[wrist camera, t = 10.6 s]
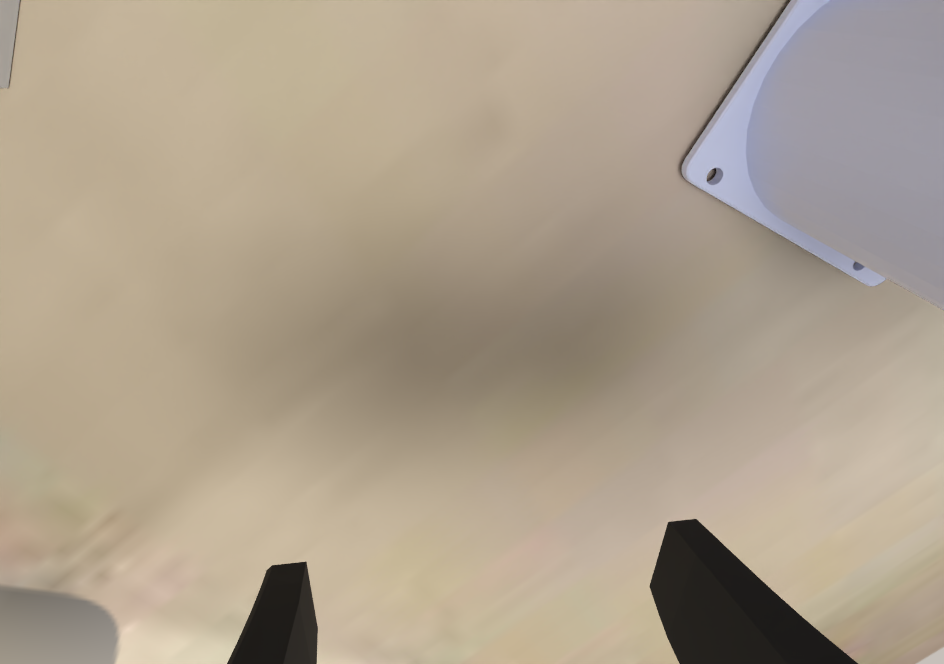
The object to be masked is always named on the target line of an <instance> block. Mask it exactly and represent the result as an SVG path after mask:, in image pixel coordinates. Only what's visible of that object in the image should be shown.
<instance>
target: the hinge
mask: <svg viewBox="0 0 944 664" xmlns="http://www.w3.org/2000/svg"><path fill="white" fill-rule="evenodd" d="M19 3H20V0H0V88H8V87H9V79H10V72H11V64H12V56H13V49H14V41H15V33H16V26H17V18H18V10H19Z"/></svg>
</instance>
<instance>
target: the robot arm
mask: <svg viewBox="0 0 944 664" xmlns="http://www.w3.org/2000/svg"><path fill="white" fill-rule="evenodd" d="M714 168H716V174H715V177H714V178H713V179H712V180H710V181H707V175H708V172H710V171H711V170H712V169H714ZM682 175H683V177H684V178H685V179H686V180H687V181H688V182H690V183H691V184H693V185H695V186H697V187H698V188H700V189H702V190H704V191H705V192H707V193H709V194H710V195H712V196H714V197H716V198H717V199H719V200H721V201H722V202H724V203H726V204H728V205H729V206H731V207H733V208H734V209H736V210H738V211H740V212H741V213H743V214H745V215H746V216H748V217H750V218H752V219H753V220H755V221H757V222H759V223H760V224H762V225H764V226H765V227H767V228H769V229H771V230H772V231H774V232H776V233H777V234H779V235H781V236H783V237H784V238H786V239H788V240H789V241H791V242H793V243H795V244H796V245H798V246H800V247H802V248H803V249H805V250H807V251H808V252H810V253H812V254H814V255H815V256H817V257H819V258H820V259H822V260H824V261H826V262H827V263H829V264H831V265H832V266H834V267H836V268H838V269H839V270H841V271H843V272H845V273H846V274H848V275H850V276H851V277H853V278H855V279H857V280H858V281H860V282H862V283H863V284H865V285H867V286H876V285H878V284H880V283H882V282H883V281H884V280H886V279H888V280H890V281H892V282H894V283H895V284H897V285H899V286H901V287H903V288H904V289H906V290H908V291H910V292H912V293H913V294H915V295H917V296H919V297H921V298H922V299H924V300H926V301H928V302H930V303H931V304H933V305H935V306H937V307H939V308H940V309H942V310H944V0H791V1H790V2H789V4H788V5H787V7H786V8H785V10H784V11H783V13H782V14H781V16H780V17H779V19H778V20H777V22H776V23H775V25H774V26H773V28H772V29H771V31H770V32H769V34H768V35H767V37H766V38H765V40H764V41H763V43H762V44H761V46H760V47H759V49H758V50H757V52H756V53H755V55H754V56H753V58H752V59H751V61H750V62H749V64H748V65H747V67H746V68H745V70H744V71H743V73H742V74H741V76H740V77H739V79H738V80H737V82H736V83H735V85H734V86H733V88H732V89H731V91H730V92H729V94H728V95H727V97H726V98H725V100H724V101H723V103H722V104H721V106H720V107H719V109H718V110H717V112H716V113H715V115H714V116H713V118H712V119H711V121H710V122H709V124H708V125H707V127H706V128H705V130H704V131H703V133H702V134H701V136H700V137H699V139H698V140H697V142H696V143H695V145H694V146H693V148H692V149H691V151H690V152H689V154H688V155H687V157H686V158H685V160H684V162H683V164H682ZM855 261H856V263H855V264H854V262H855ZM853 264H854V265H853ZM650 589H651V592H652V595H653V598H654V601H655V604H656V607H657V610H658V613H659V616H660V618H661V621H662V624H663V627H664V629H665V632H666V635H667V638H668V640H669V642H670V644H671V646H672V648H673V650H674V653H675V655H676V657H677V659H678V661H679V663H680V664H858V663H857V662H855V661H854V660H853V659H852V658H850V657H849V656H848V655H847V654H846V653H844V652H843V651H842V650H841V649H840V648H838V647H837V646H836V645H835V644H833V643H832V642H831V641H830V640H829V639H827V638H826V637H825V636H824V635H823V634H821V633H820V632H819V631H818V630H817V629H815V628H814V627H813V626H812V625H811V624H810V623H808V622H807V621H806V620H805V619H804V618H803V617H802V616H800V615H799V614H798V613H797V612H796V611H795V610H794V609H793V608H791V607H790V606H789V605H788V604H787V603H786V602H785V601H784V600H782V599H781V598H780V597H779V596H778V595H777V594H776V593H775V592H774V591H772V590H771V589H770V588H769V587H768V586H767V585H766V584H765V583H764V582H763V581H762V580H760V579H759V578H758V577H757V576H756V575H755V574H754V573H753V572H752V571H751V570H750V569H749V568H748V567H747V566H745V565H744V564H743V563H742V562H741V561H740V560H739V559H738V558H737V557H736V556H735V555H734V554H733V553H732V552H731V551H730V550H728V549H727V548H726V547H725V546H724V545H723V544H722V543H721V542H720V541H719V540H718V539H717V538H716V537H715V536H714V535H713V534H712V533H711V532H709V531H708V530H707V529H706V528H705V527H704V526H703V525H702V524H701V523H700V522H699V521H698V520H697V519H692V520H682V521H673V522H668V525H667V528H666V532H665V535H664V539H663V542H662V546H661V549H660V552H659V556H658V559H657V563H656V566H655V569H654V573H653V576H652V580H651V583H650ZM317 633H318V627H317V622H316V616H315V610H314V604H313V598H312V592H311V587H310V581H309V575H308V569H307V563H306V562H299V563H290V564H281V565H272V566H271V567H270V568H269V569H268V570H267V571H266V574H265V577H264V580H263V583H262V585H261V588H260V591H259V593H258V596H257V598H256V601H255V603H254V606H253V608H252V610H251V613H250V615H249V617H248V620H247V622H246V624H245V627H244V629H243V631H242V633H241V635H240V638H239V640H238V642H237V644H236V646H235V648H234V650H233V652H232V655H231V657H230V659H229V661H228V663H227V664H316V663H317Z"/></svg>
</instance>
